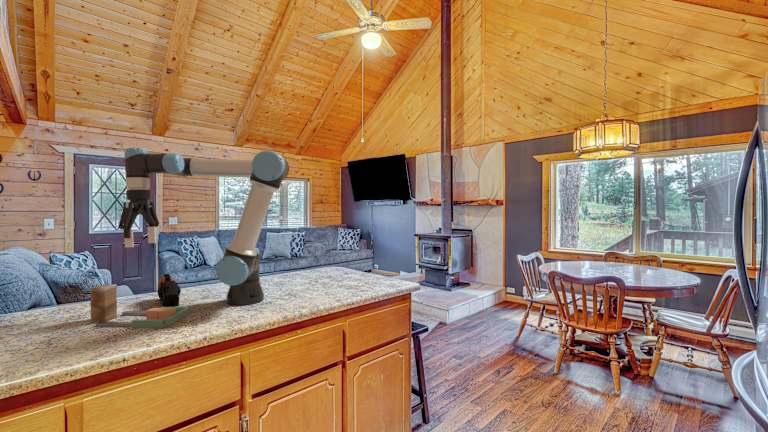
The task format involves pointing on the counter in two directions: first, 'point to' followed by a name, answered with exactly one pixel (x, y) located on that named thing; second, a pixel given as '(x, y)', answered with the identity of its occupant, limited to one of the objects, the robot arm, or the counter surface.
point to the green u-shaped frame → (164, 323)
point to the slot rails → (121, 324)
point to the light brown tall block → (103, 302)
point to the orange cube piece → (166, 313)
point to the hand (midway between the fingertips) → (141, 245)
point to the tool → (168, 291)
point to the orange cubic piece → (152, 314)
